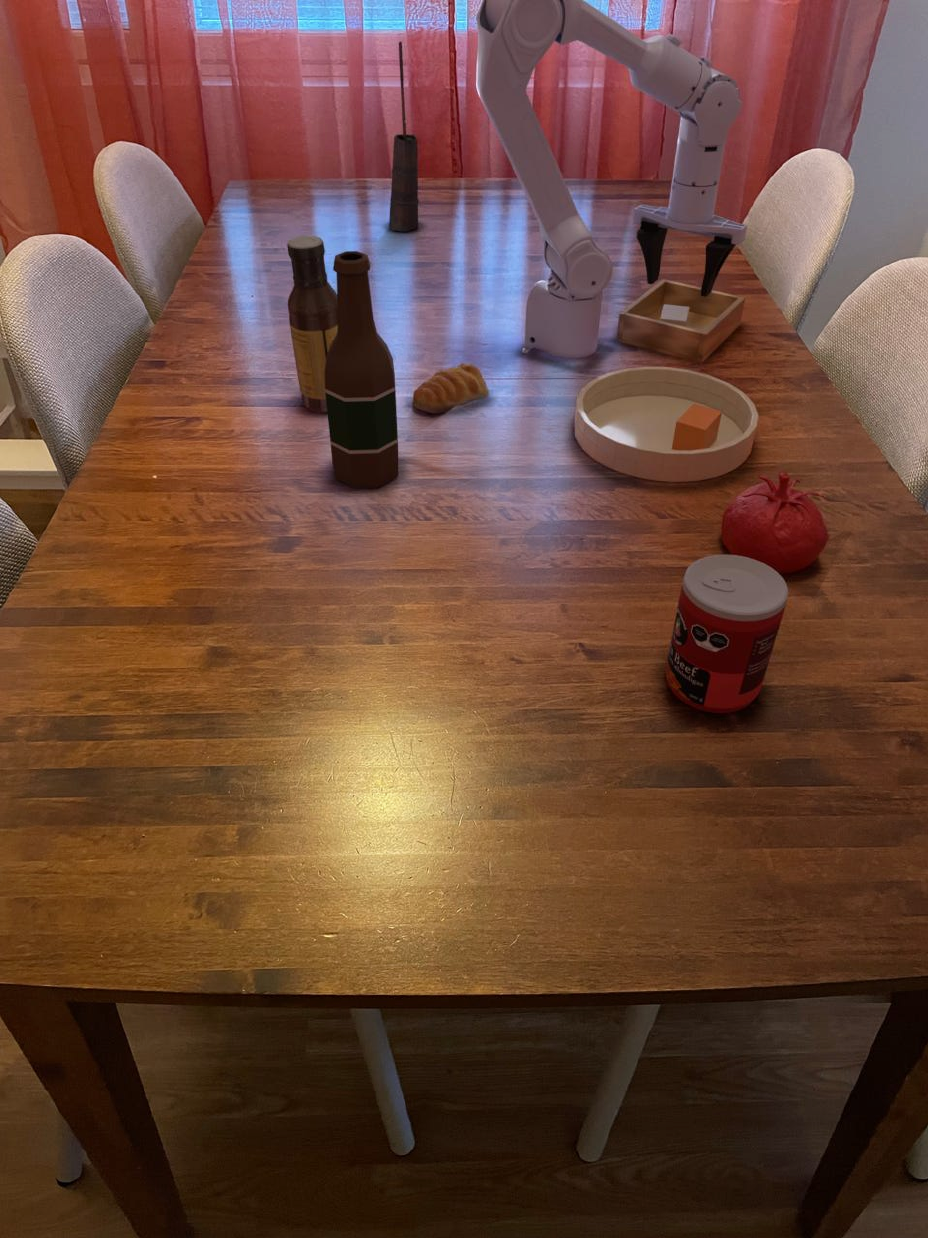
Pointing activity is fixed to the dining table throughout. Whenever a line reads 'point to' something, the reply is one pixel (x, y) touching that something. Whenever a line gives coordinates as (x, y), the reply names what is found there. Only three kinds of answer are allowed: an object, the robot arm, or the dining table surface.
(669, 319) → the beige wooden cube
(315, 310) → the sauce bottle
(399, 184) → the butter churn
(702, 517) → the dining table surface
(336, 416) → the beer bottle
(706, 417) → the orange wooden cube
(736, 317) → the holder
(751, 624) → the canned food
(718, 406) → the bowl
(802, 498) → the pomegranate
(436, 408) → the pastry
